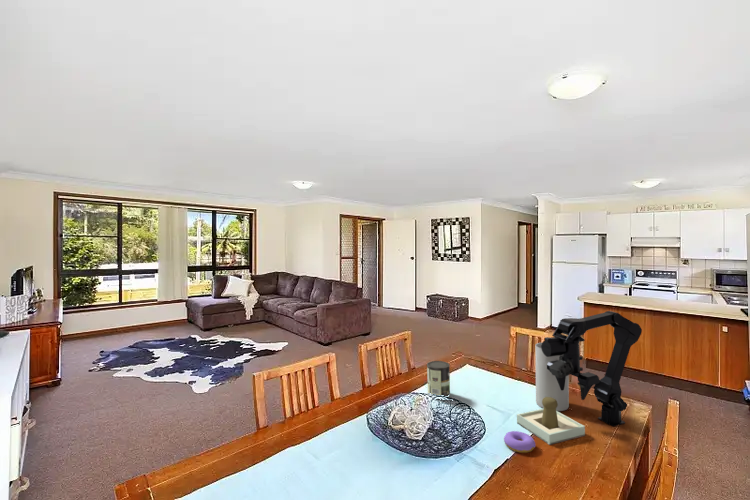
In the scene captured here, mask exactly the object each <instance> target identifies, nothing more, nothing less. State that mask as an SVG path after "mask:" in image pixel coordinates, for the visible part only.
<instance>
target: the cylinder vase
mask: <svg viewBox="0 0 750 500" xmlns="http://www.w3.org/2000/svg"><path fill="white" fill-rule="evenodd" d="M542 343H543V341H542V342H538V343H536V344H535V347H534V348H535V349H534V350H535V351H534V352H535V402H536V405H538V406H539V407H541V409H543V408H544V406H543V404H542V400H543V398H545V397H552V398H554V399H556V401H557V403H558V406H557V408H556V411H558V412H564V411H567V410H568V409H569V407H570V405H569V404H570V402H569V400H570V394H569V393H570V392H569V391H570V388H569V387H570V384H569V383H570V382H569V379H570V378H569V377H570V375H568V376H566V379H565V387H564V390H561V389H560V386H559V384H558V381H557V379H556V377H555V375H552V373H551V372H550V370H548V369H547V364H548V362H551V361H556V360H558V361H559V357H560V355H559V356H551V357H546V356H545V355H544V354H543V352H542V349H541V345H542Z"/></svg>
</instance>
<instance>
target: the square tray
mask: <svg viewBox="0 0 750 500" xmlns="http://www.w3.org/2000/svg"><path fill="white" fill-rule="evenodd" d="M556 412H557V419H558V426H559V428H554V429H550V430H549V429H548V428H546V427H544V426H543V425H541V423H542V415H543V408H539V409H536V410H531V411H526V412H521V413H517V414H516V423H517V424H518V425H519V426H520V427H521V428H523V429H525V430H526V431H528V432H529V433H531V434H532V435H534V436H535V437H537V438H538V439H540V440H542V442H544V443H546V444H547V445H550V446H552V445H554V444H559V443H562V442H567V441H570V440H574V439H578V438H581V437H582V438H583V437H585V436H586V425H584V424H582V423H579V422H578V421H576V420H574V419H572V418H570V417H569V416H567V415H565V414H563V413H561V411H556Z"/></svg>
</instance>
